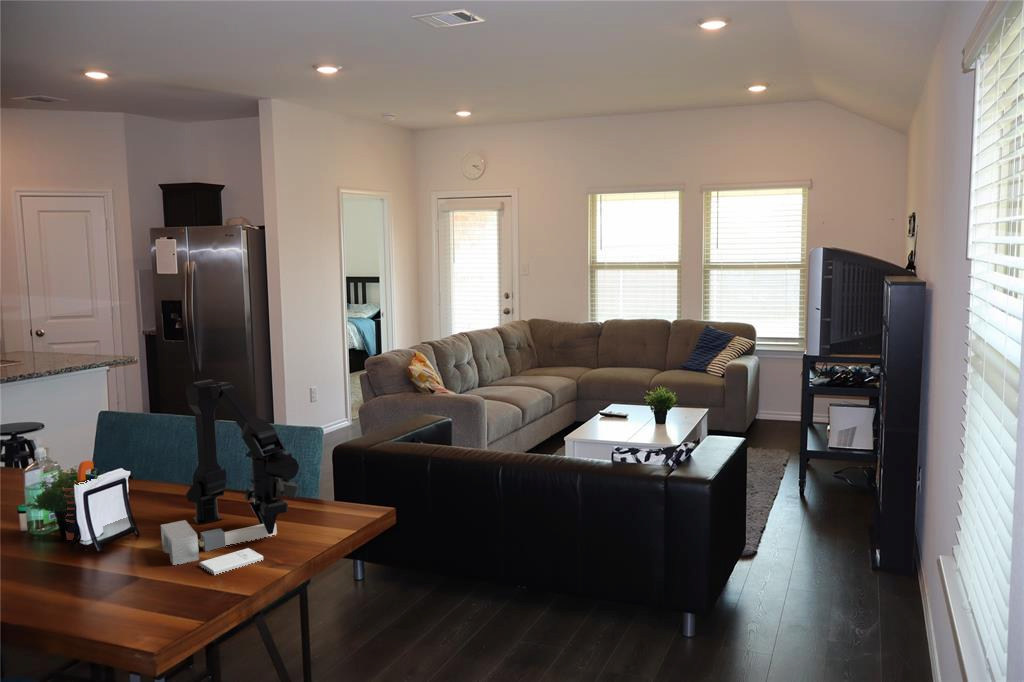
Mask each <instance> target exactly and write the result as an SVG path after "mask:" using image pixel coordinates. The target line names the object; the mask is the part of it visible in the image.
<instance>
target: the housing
mask: <svg viewBox="0 0 1024 682" xmlns="http://www.w3.org/2000/svg"><path fill="white" fill-rule="evenodd" d="M160 532H161V533H160V534H161V545H162V546H161V547H162V548H161V549H162V551H163V553H164V554H165V553H167V554H169V561H170V563H171V564H172V566H173V565H175V566H178V565H177V564H179V565H183V564H188V563H191V562H196V561H199V560H200V553H199V544H198V540H199V539H198V534H197V532H196V531H195V530H194V529H193V527H192V526H191V525H190V524H189V522H188V521H187V520H185V519H184V520H179V521H178V520H177V521H173V522H169V523H164V524H163V523H162V524H160ZM187 562H188V563H187Z"/></svg>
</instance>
